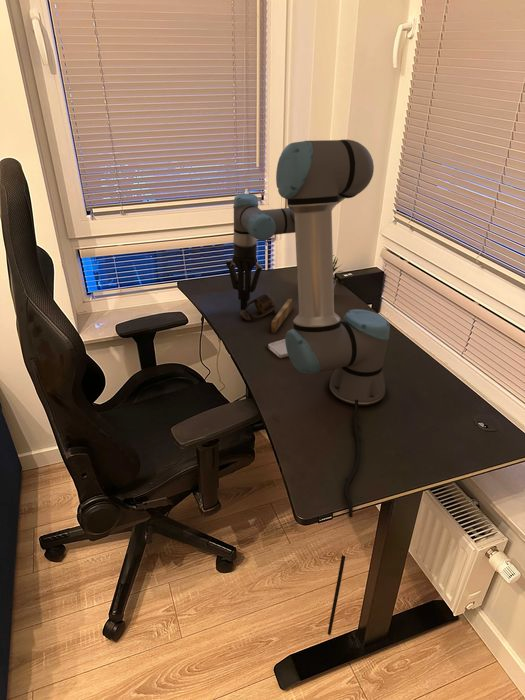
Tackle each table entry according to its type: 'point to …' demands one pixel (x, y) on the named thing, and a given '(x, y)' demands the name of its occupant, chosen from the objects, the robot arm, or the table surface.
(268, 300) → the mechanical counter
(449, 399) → the table surface
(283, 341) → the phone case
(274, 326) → the rail
